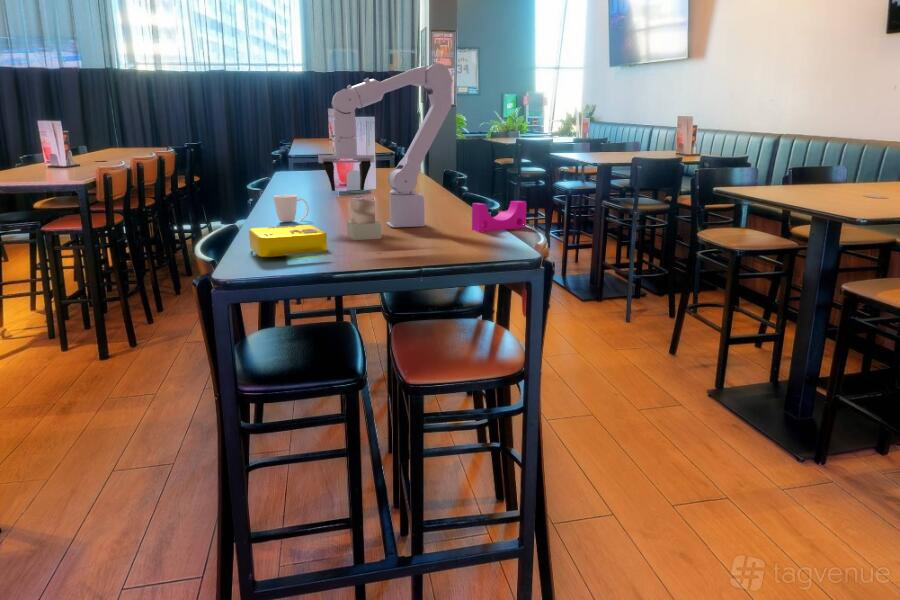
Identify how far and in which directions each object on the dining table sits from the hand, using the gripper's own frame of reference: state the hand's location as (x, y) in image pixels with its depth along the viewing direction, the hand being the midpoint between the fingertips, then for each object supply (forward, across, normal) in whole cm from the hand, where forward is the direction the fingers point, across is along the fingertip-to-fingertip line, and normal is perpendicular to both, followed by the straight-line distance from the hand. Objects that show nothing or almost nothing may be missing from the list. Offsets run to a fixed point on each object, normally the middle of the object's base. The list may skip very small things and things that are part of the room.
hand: (347, 190), depth 164 cm
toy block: (+11, -39, +10) cm, 42 cm away
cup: (+11, +15, -14) cm, 23 cm away
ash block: (+7, -2, +15) cm, 17 cm away
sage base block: (+11, -2, +15) cm, 18 cm away
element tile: (+11, +17, +26) cm, 33 cm away
